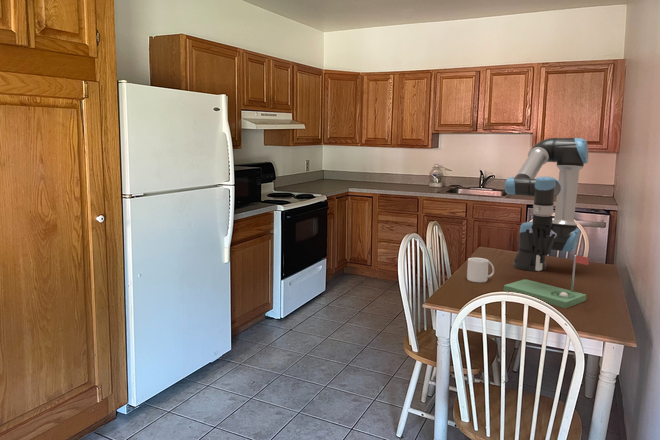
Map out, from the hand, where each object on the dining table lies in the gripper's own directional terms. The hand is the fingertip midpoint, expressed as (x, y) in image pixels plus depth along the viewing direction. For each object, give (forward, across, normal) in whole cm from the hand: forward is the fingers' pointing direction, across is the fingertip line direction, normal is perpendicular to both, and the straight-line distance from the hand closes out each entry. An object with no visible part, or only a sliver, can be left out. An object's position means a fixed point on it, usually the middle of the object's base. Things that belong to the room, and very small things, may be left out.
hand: (538, 269), depth 208 cm
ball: (+8, +12, -2) cm, 15 cm away
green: (+10, +4, -2) cm, 11 cm away
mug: (+10, -25, -4) cm, 28 cm away
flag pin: (+10, +15, +5) cm, 18 cm away
